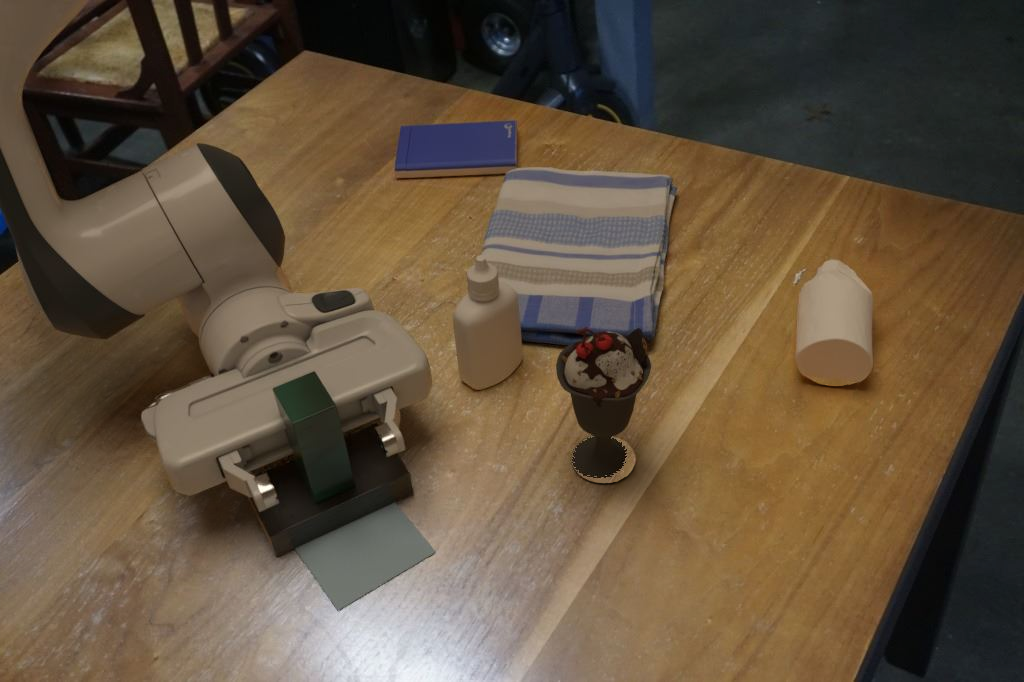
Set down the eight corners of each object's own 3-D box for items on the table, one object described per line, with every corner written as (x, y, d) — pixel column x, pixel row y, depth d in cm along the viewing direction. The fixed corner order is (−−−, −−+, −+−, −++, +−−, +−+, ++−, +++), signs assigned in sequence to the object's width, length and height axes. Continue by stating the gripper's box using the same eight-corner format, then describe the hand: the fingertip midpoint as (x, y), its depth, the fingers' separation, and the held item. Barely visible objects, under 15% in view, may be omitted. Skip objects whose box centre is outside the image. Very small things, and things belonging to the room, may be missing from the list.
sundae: (550, 486, 82) (543, 341, 72) (571, 421, 87) (566, 276, 77) (637, 502, 81) (642, 355, 71) (654, 435, 86) (660, 288, 75)
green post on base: (276, 557, 79) (241, 457, 72) (248, 501, 83) (213, 400, 75) (414, 493, 83) (394, 392, 75) (381, 442, 86) (359, 341, 79)
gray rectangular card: (261, 501, 83) (261, 500, 83) (354, 451, 86) (354, 451, 86) (337, 611, 76) (337, 610, 76) (435, 552, 79) (435, 551, 79)
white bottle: (866, 293, 96) (877, 243, 92) (867, 391, 88) (879, 340, 84) (796, 287, 97) (803, 236, 93) (790, 383, 89) (798, 332, 85)
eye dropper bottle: (453, 359, 93) (439, 248, 85) (518, 345, 94) (509, 234, 86) (464, 395, 90) (450, 283, 82) (531, 380, 91) (523, 268, 82)
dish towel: (677, 191, 108) (679, 167, 106) (657, 357, 92) (658, 333, 90) (505, 181, 111) (503, 158, 109) (455, 340, 95) (452, 316, 93)
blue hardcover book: (516, 118, 117) (400, 123, 118) (516, 161, 111) (394, 167, 112) (517, 130, 118) (402, 136, 119) (517, 174, 112) (396, 180, 113)
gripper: (122, 376, 80) (173, 507, 70) (381, 279, 86) (459, 388, 77) (147, 434, 84) (198, 565, 75) (392, 338, 90) (467, 448, 81)
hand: (332, 474), depth 76 cm, fingers open, 8 cm apart
